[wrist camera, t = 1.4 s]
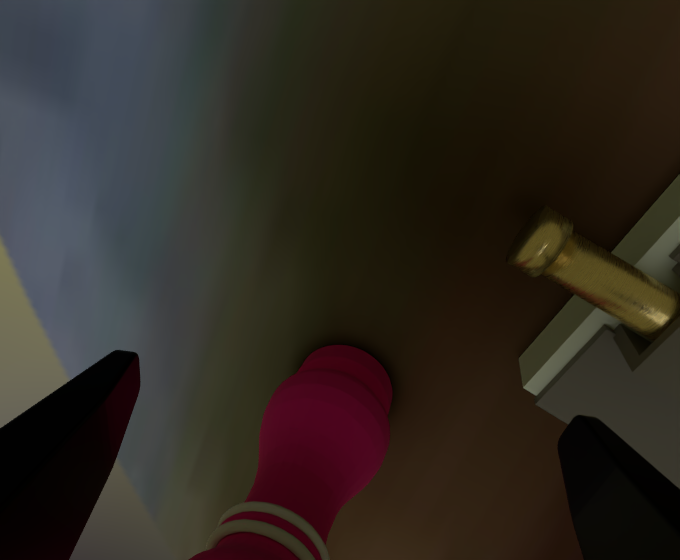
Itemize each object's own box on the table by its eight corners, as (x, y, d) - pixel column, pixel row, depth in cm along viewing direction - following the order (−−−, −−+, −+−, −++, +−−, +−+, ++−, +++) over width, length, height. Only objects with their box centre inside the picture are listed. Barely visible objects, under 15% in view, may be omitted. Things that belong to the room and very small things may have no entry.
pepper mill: (333, 314, 29) (107, 664, 11) (424, 387, 30) (342, 845, 12) (273, 384, 33) (22, 745, 15) (356, 450, 33) (208, 886, 15)
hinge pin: (833, 370, 20) (883, 409, 18) (777, 413, 22) (816, 456, 19) (543, 199, 21) (551, 214, 18) (504, 251, 22) (508, 271, 20)
